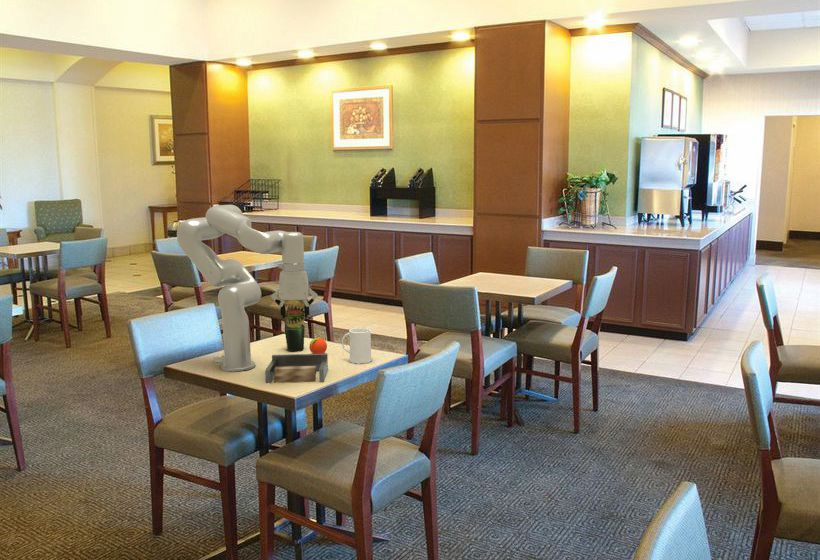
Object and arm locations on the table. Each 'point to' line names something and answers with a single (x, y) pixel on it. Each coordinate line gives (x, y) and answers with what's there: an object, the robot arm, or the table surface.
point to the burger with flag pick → (294, 313)
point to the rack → (298, 363)
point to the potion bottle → (295, 338)
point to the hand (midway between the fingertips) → (295, 317)
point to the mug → (359, 345)
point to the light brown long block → (295, 374)
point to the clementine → (318, 346)
